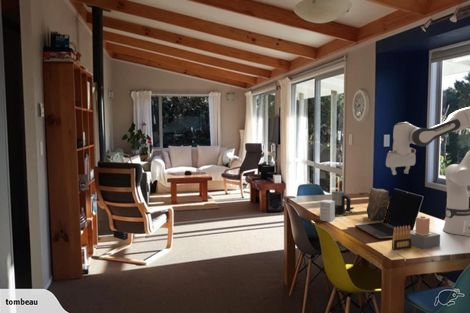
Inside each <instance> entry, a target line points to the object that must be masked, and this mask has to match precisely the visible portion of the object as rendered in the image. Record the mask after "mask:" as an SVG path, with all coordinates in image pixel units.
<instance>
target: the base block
mask: <svg viewBox="0 0 470 313" xmlns="http://www.w3.org/2000/svg"><path fill="white" fill-rule="evenodd" d="M410 232H411V246H413V247H416V248H419V249H422V250H425V249H426V250H427V249H431V248H435V247H440V246H441V245H440V244H441V234H439V233H436V232H432V231H430V230H429V233H428V234H420V233H417V232H416V229H412V230H411V229H410Z"/></svg>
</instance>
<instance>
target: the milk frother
mask: <svg viewBox="0 0 470 313" xmlns="http://www.w3.org/2000/svg"><path fill="white" fill-rule="evenodd" d="M331 200H332V201H335V215H343V214H345V213H346V212H349V211H351V210H354V209H355V207H354V206H351V202H352V198H351V196H349V195H347V194H346V192H345V191H339V190H336V191H331Z"/></svg>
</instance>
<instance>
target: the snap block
mask: <svg viewBox="0 0 470 313" xmlns="http://www.w3.org/2000/svg"><path fill="white" fill-rule="evenodd" d="M430 220H431V218H430V217H426V216H423V215H421V216H417V217H415V230H416V232H417V233H420V234H428V233H429V231H430V223H431V222H430Z"/></svg>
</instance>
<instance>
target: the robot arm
mask: <svg viewBox="0 0 470 313" xmlns="http://www.w3.org/2000/svg"><path fill="white" fill-rule="evenodd" d="M468 128H470V106H468V107H464V108H461V109H458V110H455V111H454V112H452V113H450V114H449V115H448V116H447V118H446V120H445V121H444V122H442V123H439V124H436V125H434V126H432V127H428V128H427V127H417V126H415V125H413V124H411V123H409V121H404V122H403V121H401V122H398V123H396V124H395V125H394V126H393V131H392V132H393V133H392V135H393V136H392V139H393V143H392V150H389V151H388V152H387V154H386V158H385V166H386V167H387V168H390V170H391V174H392V175H393V176H395V175H397V172H398V171H396V168H398V167H399V168H401V167H405V169H403V173H404V174H407V175H408V174H409V170H410V169H411V166H415V164H416V158H417V157H416V156H417V155H416V152H417V150H416V149H415V148H413V147H410V144H413V145H416V146H418V147H426V146H428V145H430V144H431V143H432V142H433V141H434V140H436V139H437V138H440V137H442V136H444V135H447V134H450V133H453V132H454V133H455V132H458V131H462V130H465V129H468ZM444 176H445V187H446V207H445V221H444V224H443V228H442V231H443V232H444V233H448V234H452V235H460V236H461V235H462V236H464V237H465V236H466V237H470V208H469V206H470V194H469V191H468V186H470V149H469V150H468V151H467V152H466V153H465V155H464V157H463V159H462V160H461V161H460V163H453V164H449V165H447V166H446V167H445V169H444Z"/></svg>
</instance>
